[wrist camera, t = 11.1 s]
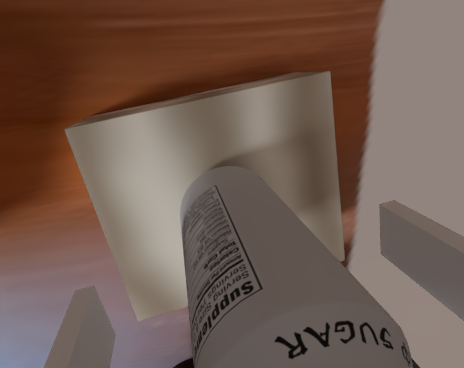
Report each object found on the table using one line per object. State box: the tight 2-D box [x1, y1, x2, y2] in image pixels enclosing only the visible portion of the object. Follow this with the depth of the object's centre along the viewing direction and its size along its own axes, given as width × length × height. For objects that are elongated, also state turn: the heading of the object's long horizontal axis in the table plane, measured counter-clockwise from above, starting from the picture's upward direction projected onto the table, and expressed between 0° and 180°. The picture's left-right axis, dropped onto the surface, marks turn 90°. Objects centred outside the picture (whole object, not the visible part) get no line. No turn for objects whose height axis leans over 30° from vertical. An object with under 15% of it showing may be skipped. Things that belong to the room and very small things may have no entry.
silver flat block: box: [64, 71, 345, 321], centre depth 24 cm, size 16×14×6 cm
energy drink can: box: [180, 166, 414, 368], centre depth 14 cm, size 6×6×15 cm
